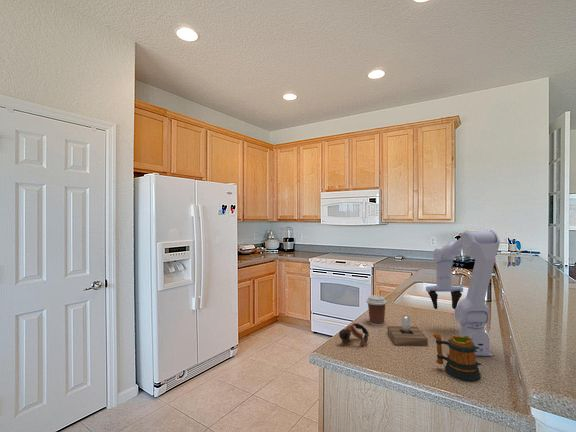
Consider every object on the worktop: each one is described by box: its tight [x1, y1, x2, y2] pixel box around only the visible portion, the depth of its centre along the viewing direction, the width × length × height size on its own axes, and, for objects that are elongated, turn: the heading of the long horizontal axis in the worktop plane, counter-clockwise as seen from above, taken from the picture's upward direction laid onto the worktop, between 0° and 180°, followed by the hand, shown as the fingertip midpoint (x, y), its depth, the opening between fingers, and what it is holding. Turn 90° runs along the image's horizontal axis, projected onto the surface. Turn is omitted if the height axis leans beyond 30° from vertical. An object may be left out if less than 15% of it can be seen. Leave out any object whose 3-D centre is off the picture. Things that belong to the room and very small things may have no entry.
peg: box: [401, 314, 411, 334], centre depth 117 cm, size 3×3×9 cm
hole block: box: [387, 325, 429, 347], centre depth 117 cm, size 12×12×3 cm
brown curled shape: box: [338, 322, 369, 347], centre depth 114 cm, size 12×10×8 cm
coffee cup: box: [366, 294, 388, 326], centre depth 136 cm, size 9×9×12 cm
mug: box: [432, 332, 482, 383], centre depth 92 cm, size 13×10×12 cm
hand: (444, 308), depth 125 cm, fingers open, 7 cm apart
